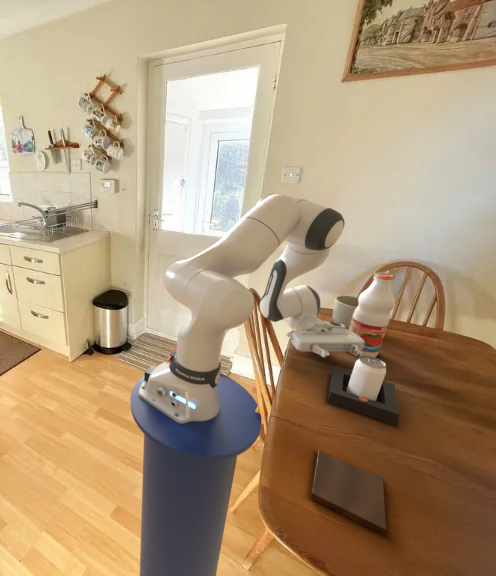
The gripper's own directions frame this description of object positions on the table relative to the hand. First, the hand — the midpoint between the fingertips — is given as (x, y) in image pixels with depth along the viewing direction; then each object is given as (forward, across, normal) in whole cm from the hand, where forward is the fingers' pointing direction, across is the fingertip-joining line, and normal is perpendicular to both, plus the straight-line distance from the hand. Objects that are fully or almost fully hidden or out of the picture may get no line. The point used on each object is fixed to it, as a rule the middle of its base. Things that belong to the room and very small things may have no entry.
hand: (343, 355), depth 92 cm
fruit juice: (-14, +17, +8) cm, 24 cm away
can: (+9, 0, +8) cm, 12 cm away
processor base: (+9, 0, +8) cm, 12 cm away
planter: (-32, +25, +8) cm, 41 cm away
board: (+36, -22, +8) cm, 42 cm away
